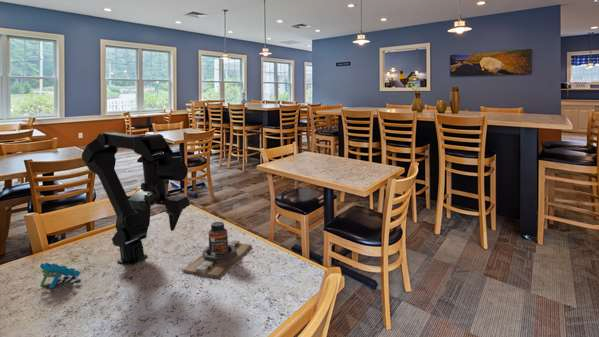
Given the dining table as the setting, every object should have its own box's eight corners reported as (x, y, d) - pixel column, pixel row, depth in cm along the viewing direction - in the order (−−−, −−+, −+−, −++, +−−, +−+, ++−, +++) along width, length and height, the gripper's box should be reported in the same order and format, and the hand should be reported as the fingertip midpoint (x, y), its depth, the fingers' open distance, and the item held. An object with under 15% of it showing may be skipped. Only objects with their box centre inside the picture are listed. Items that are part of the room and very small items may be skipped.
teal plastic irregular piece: (89, 272, 98) (59, 260, 91) (79, 293, 95) (48, 282, 87) (61, 271, 102) (31, 260, 94) (51, 291, 99) (19, 282, 91)
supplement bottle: (215, 262, 105) (213, 228, 103) (206, 256, 109) (204, 223, 107) (231, 256, 109) (230, 223, 107) (222, 250, 113) (221, 218, 111)
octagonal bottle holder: (182, 272, 101) (182, 263, 101) (221, 242, 122) (221, 235, 121) (217, 278, 97) (217, 269, 97) (251, 247, 118) (251, 239, 117)
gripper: (106, 182, 93) (113, 235, 96) (162, 187, 87) (167, 243, 90) (137, 173, 103) (142, 222, 106) (188, 177, 98) (192, 228, 101)
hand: (159, 228), depth 101 cm, fingers open, 9 cm apart
